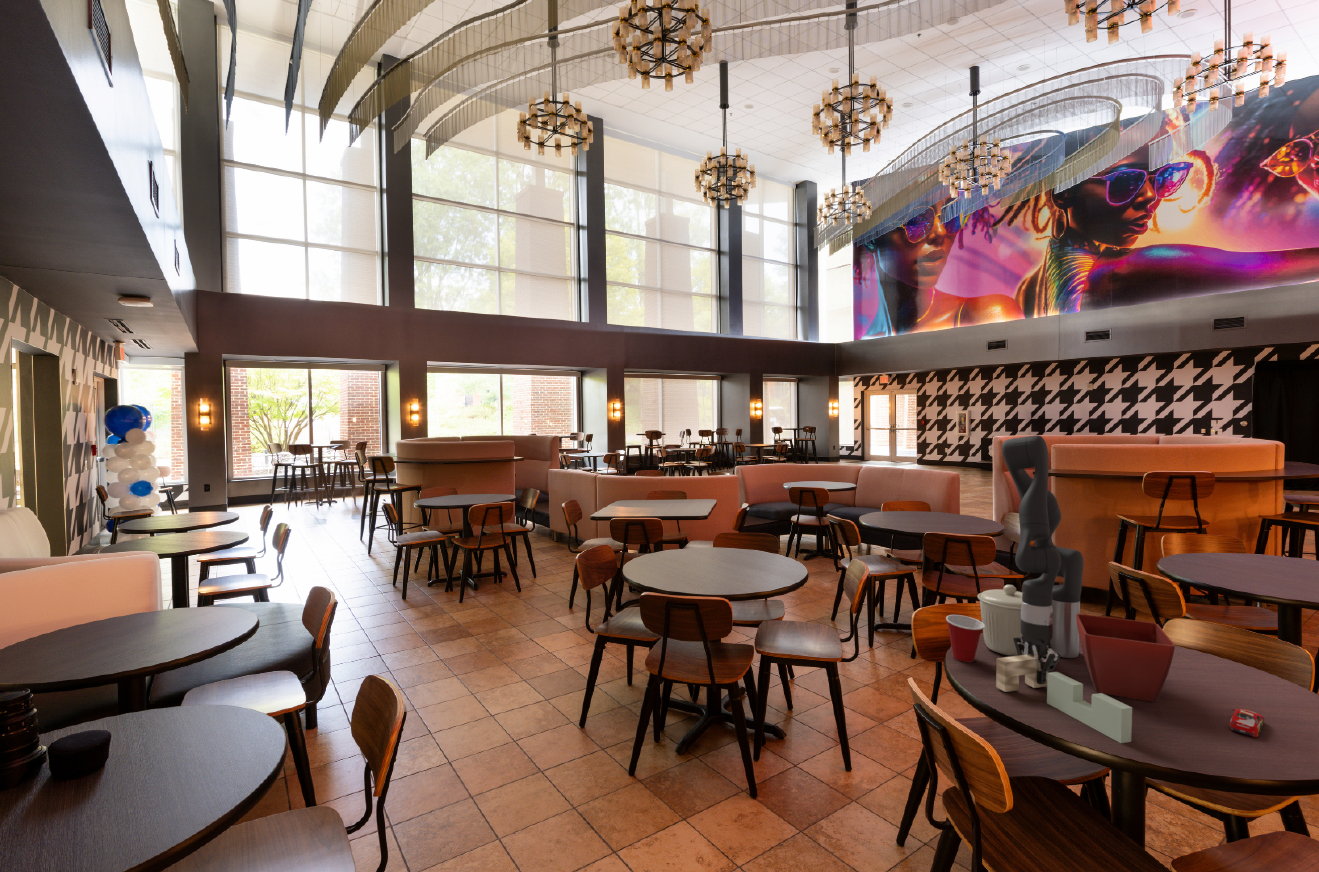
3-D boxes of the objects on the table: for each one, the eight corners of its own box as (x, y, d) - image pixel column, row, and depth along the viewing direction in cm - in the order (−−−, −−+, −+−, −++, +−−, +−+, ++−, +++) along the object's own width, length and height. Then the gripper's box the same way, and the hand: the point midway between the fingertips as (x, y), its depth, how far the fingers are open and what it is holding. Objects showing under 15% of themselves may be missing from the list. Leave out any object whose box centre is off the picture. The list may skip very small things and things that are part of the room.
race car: (1235, 715, 154) (1236, 699, 154) (1265, 723, 150) (1266, 707, 150) (1225, 731, 146) (1226, 715, 146) (1257, 741, 142) (1258, 724, 142)
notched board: (1046, 703, 160) (1047, 672, 160) (1056, 701, 161) (1057, 671, 160) (1120, 743, 140) (1121, 709, 140) (1131, 741, 141) (1132, 707, 141)
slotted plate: (1038, 681, 171) (1038, 653, 171) (1047, 686, 168) (1048, 657, 168) (996, 687, 168) (996, 658, 168) (1004, 691, 165) (1005, 662, 165)
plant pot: (1083, 695, 164) (1085, 633, 164) (1073, 669, 181) (1075, 612, 181) (1174, 711, 155) (1176, 646, 155) (1155, 682, 172) (1157, 623, 172)
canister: (1030, 667, 183) (1032, 597, 182) (967, 649, 196) (968, 584, 195) (1049, 651, 195) (1051, 585, 194) (988, 636, 208) (990, 574, 207)
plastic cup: (978, 669, 181) (979, 629, 181) (940, 659, 189) (940, 620, 188) (988, 658, 189) (989, 619, 189) (951, 649, 196) (952, 612, 196)
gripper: (1005, 612, 174) (1004, 671, 175) (1047, 629, 161) (1045, 693, 161) (1027, 610, 176) (1025, 669, 177) (1070, 626, 163) (1069, 690, 163)
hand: (1035, 680), depth 169 cm, fingers closed on slotted plate, 3 cm apart
